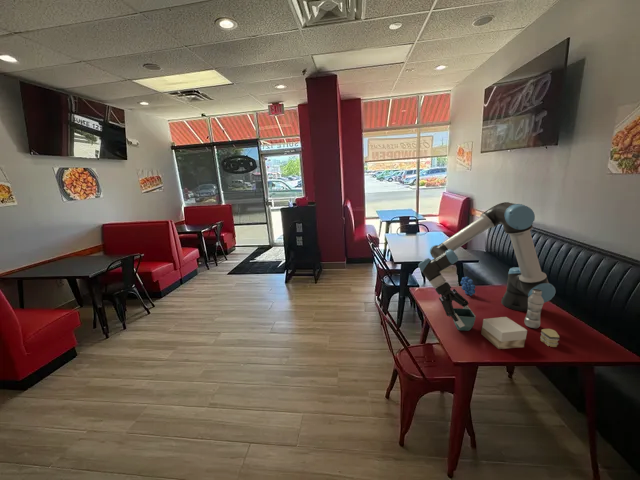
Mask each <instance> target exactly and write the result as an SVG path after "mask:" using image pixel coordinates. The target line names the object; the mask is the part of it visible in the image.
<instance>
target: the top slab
mask: <svg viewBox="0 0 640 480" xmlns="http://www.w3.org/2000/svg"><path fill="white" fill-rule="evenodd" d="M482 327H483V328H484V329H485V330H487V331H488V332H489V333H490V334H492V335H493V336H494V337H496V338H497V339H498V340H500V341H501V342H504V341H514V340H523V339H525V340H527V334H528V330H527V329H526V328H525V327H523V326H522V325H520V324H518V323H517V322H515V321H514V320H513V319H511V318H509V317H507V316H500V317H499V316H498V317H490V318H489V317H488V318H483V320H482ZM482 327H481V328H482Z"/></svg>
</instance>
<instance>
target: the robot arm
mask: <svg viewBox="0 0 640 480" xmlns="http://www.w3.org/2000/svg"><path fill="white" fill-rule="evenodd" d="M535 220H536V216H535V212H534V210H533V209H532V208H531V207H529V206H528V205H525V204H522V203H513V202H509V201H508V202H507V201H506V202H500V203H498V204H495V205H493V206H492V207H490V208H488V209H487V210H485V211H484V212H483V213H481V214H480V217H478V218H477V219H476V220H474V221H473V222H471V223H469V225H466V226H465V227H464V228H462V229H461V230H459V231H458V232H456V233H455V234H453V235H452V236H450V237H449V238H447V239H446V240H444V241H443V242H441V243H440V244H439V245H438V244H435V245H432V246H431V247H430V249H429V254H430V256H431V258H432V259H431V258H430V257H427V258H425V259H424V260H422V261H420V262H419V263H418V268H419V270H420V271H421V273H422V275H424V277H425V278H426V279H427V280H428V282H429V283H430V285H431V286H432V288H434V290H435V291H436V293H437V294H438V295H441V296H440V297H438V300H439V301H440V303H441V305H442V308H443V310H444V311H445V314H446V316H447V317H449V318H450V317H451V319H452V320H453V319H454V321H455V322H456V323H457V325H458V326H459V327H460V328H461V327H463V326H465V325H464V323H463V322H462V321H461V319H460V318H459V317H458V315H457V314H455V313H454V309H453V308H454V306H453V302H455V303H457V304H458V305H460V306H462V309H470V310H471V311H472V309H471V308H470V307H469V304H470V303H469V301H468V300H467V299H466V298H465V297H464V296H462V295H461V294H460V293H459V292H458V291H457V290H456V289H455V288H453V289H451V288H452V285H450V283H449V282H447V279H446V278H445V276H443V274H442V273H441V272H442V271H444V270H445V269H447V268H449V267H451V266H452V265H454V264H455V263H457V262H458V261H459V257H458V255H457V254H456V252H454V251H456V250H458V249H459V248H461V247H462V246H464V245H465V244H467V243H469V242H470V241H471V240H473V239H475V238H476V237H477V236H478V237H479V235H480V234H483V233H484V232H485V231H487V230H488V229H490V228H492V229H493V228H495V227H496V226H499V225H502V227H503V230H504V233H506V235H509V238H510V240H511V241H510V242H511V245H512V247H513V251H514V255H515V258H516V262H517V264H518V267H515V266H513V267H510V268H509V271H508V272H507V280H506V283H507V284H506V290H505V292H504V294H503V296H502V298H501V303H500V304H501V305H502V306H503V307H506V308H508V309H511V310H514V311H519V312H527V310H528V297H529V296H530V295H532V294H533V293H532V291H533V289H539V290H541V291H542V295H541V296H542V298H543V300H544V303H547V302H549V301H551V300H552V299H553V298H554V297H555V294H556V287H555V286H554V285H553V284H552V283H550V282H549V280H548V276H547V274H546V273H545V272H543V271H542V268H541V265H540V260H539V257H538V255H537V252H536V248H535V244H534V241H533V238H532V234H531V230H532V229H533V227H534V226H533V224H534V221H535ZM472 313H473V314H474V315H475V313H474V312H473V311H472ZM475 317H476V315H475ZM454 321H453V322H454Z"/></svg>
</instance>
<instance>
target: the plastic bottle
mask: <svg viewBox="0 0 640 480" xmlns="http://www.w3.org/2000/svg"><path fill="white" fill-rule="evenodd" d="M532 293H533V294H532V295H530V296H529V297H528V310H527V311H526V315H525V317H524V319H523V320H524V325H525V326H526V327H528V328H530V329H538V328H539V327H540V326H541V313H542V310H543V309H542V308H543V306H544V304H545V302H544V300H543V298H542V296H541V295H542V291H541V290H539V289H533V291H532Z"/></svg>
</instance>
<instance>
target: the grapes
mask: <svg viewBox="0 0 640 480" xmlns="http://www.w3.org/2000/svg"><path fill="white" fill-rule="evenodd" d="M460 285H461V291H464V294H465V295H467V296H468V295H469V296H470V297H472V296H474V295H475V294H476V290H475V289H476V285H475V284H474V280H473V279H472V278H470V277H468V276H465V277H464V276H463V277H461V281H460Z"/></svg>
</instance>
